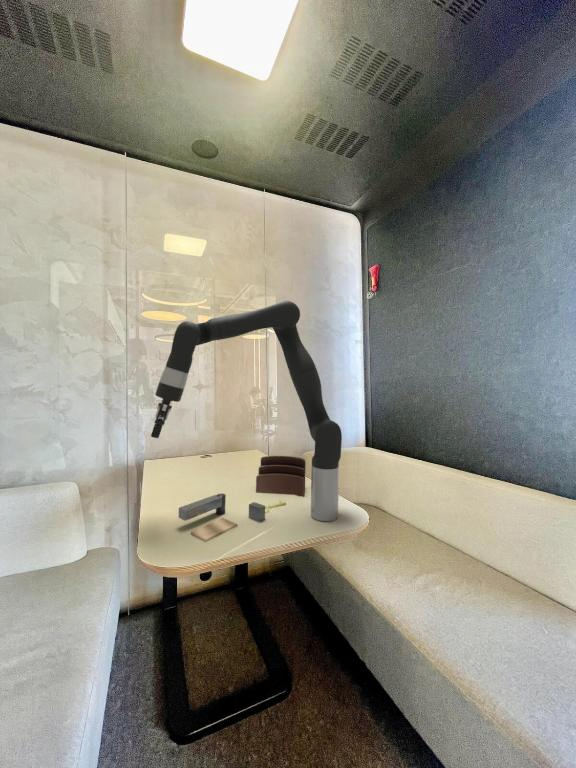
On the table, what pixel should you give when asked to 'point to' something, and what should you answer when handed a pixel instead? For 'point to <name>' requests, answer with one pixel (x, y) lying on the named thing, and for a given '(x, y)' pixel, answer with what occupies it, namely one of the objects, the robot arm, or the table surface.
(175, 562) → the table surface
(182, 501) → the table surface
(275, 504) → the key
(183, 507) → the grey handle
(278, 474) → the letter holder
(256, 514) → the block
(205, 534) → the brown rectangular panel
